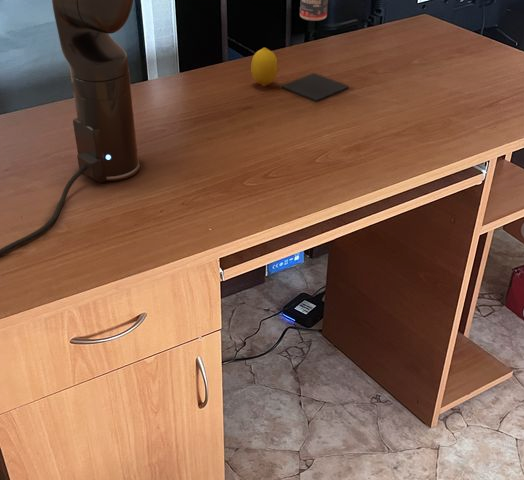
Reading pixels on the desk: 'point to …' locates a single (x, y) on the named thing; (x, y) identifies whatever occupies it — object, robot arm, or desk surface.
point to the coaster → (314, 87)
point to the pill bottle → (313, 9)
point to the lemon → (264, 66)
